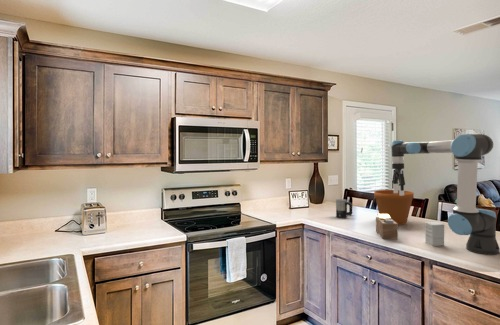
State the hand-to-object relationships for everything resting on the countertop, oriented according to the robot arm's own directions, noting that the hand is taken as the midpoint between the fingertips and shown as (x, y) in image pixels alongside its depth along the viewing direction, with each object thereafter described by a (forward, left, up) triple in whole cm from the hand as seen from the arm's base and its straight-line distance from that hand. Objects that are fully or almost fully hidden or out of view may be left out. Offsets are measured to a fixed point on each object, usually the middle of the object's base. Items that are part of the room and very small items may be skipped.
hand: (398, 194), depth 217 cm
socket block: (-6, +9, -27) cm, 29 cm away
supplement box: (-24, -14, -27) cm, 38 cm away
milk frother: (+53, +30, -27) cm, 66 cm away
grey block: (-11, +9, -26) cm, 30 cm away
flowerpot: (+34, -6, -27) cm, 44 cm away
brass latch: (-4, +9, -16) cm, 19 cm away
